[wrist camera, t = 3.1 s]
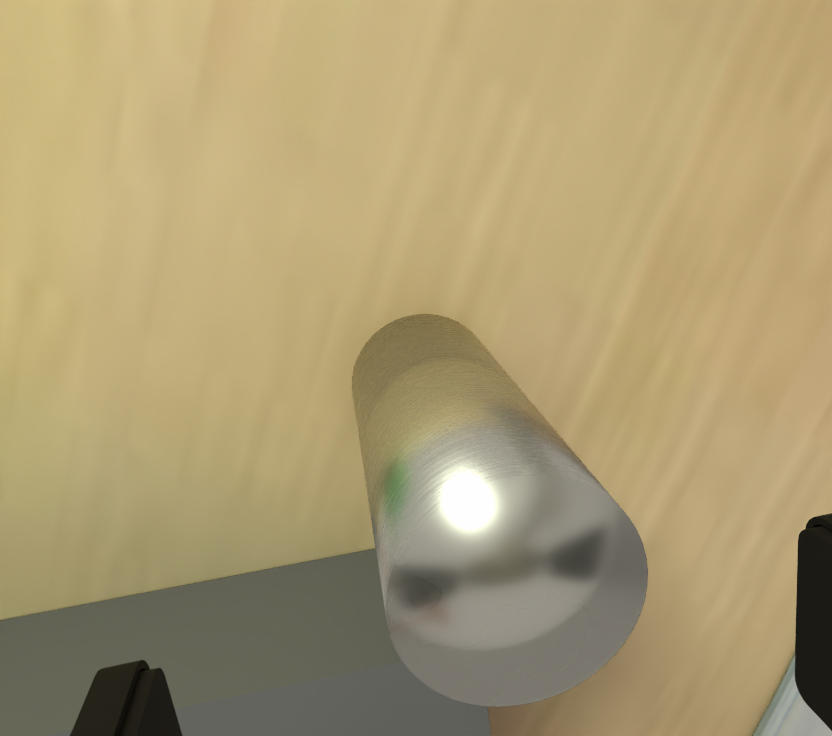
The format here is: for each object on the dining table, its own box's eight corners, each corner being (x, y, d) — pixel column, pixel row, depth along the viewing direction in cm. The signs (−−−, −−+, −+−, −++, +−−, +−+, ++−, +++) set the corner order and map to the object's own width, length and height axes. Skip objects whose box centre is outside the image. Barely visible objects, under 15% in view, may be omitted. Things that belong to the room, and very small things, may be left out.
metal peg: (484, 303, 19) (644, 452, 10) (497, 434, 21) (651, 677, 11) (341, 326, 19) (365, 503, 10) (363, 458, 20) (405, 730, 11)
